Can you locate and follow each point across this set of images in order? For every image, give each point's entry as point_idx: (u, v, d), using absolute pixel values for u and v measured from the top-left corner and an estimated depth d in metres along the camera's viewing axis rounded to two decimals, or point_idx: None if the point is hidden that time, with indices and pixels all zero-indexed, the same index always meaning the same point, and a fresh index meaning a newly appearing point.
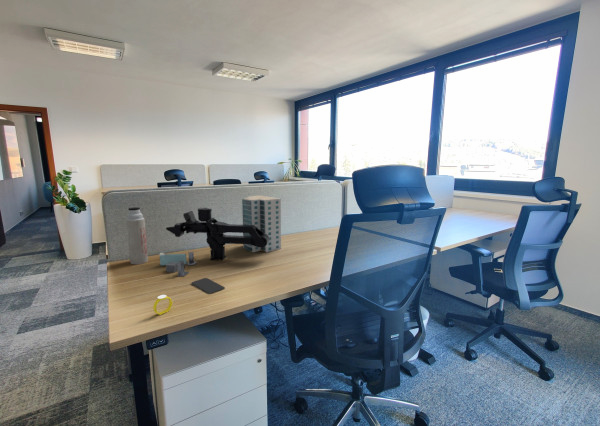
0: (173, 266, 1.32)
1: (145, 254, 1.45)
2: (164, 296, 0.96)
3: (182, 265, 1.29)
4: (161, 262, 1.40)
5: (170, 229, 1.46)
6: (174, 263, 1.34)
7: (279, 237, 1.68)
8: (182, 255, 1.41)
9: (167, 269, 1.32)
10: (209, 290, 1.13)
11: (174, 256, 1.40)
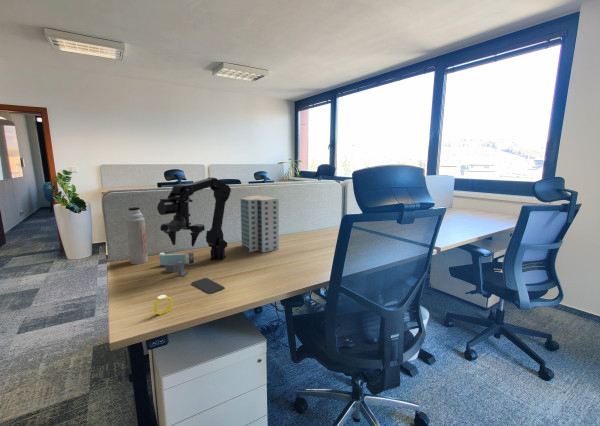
0: (173, 266, 1.32)
1: (145, 254, 1.45)
2: (164, 296, 0.96)
3: (182, 265, 1.29)
4: (161, 262, 1.40)
5: (194, 240, 1.31)
6: (174, 263, 1.34)
7: (277, 237, 1.67)
8: (182, 255, 1.41)
9: (167, 269, 1.32)
10: (209, 290, 1.13)
11: (174, 256, 1.40)
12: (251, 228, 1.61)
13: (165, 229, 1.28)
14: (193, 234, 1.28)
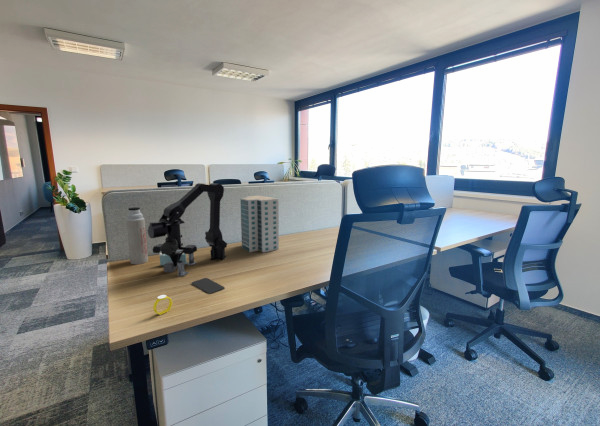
0: (171, 266, 1.32)
1: (145, 254, 1.45)
2: (164, 296, 0.96)
3: (182, 265, 1.29)
4: (161, 262, 1.40)
5: (178, 260, 1.33)
6: (172, 263, 1.34)
7: (277, 237, 1.67)
8: (182, 255, 1.41)
9: (165, 269, 1.32)
10: (209, 290, 1.13)
11: None
12: (251, 228, 1.61)
13: (157, 251, 1.30)
14: (176, 255, 1.30)
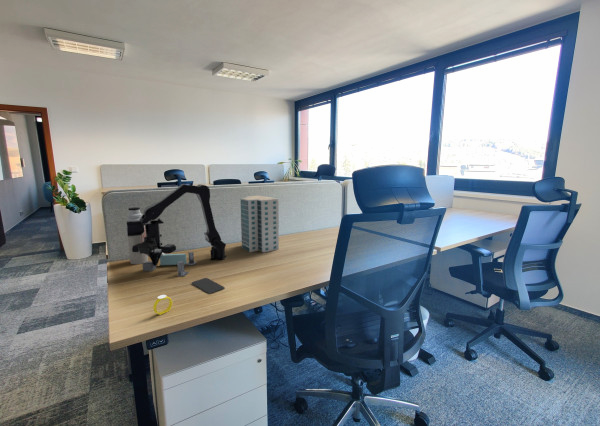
0: (150, 265, 1.33)
1: (145, 254, 1.45)
2: (164, 296, 0.96)
3: (182, 265, 1.29)
4: (161, 262, 1.40)
5: (157, 259, 1.34)
6: (151, 262, 1.35)
7: (277, 237, 1.67)
8: (182, 255, 1.41)
9: (144, 268, 1.33)
10: (209, 290, 1.13)
11: (174, 256, 1.40)
12: (251, 228, 1.61)
13: (136, 250, 1.31)
14: (155, 254, 1.31)
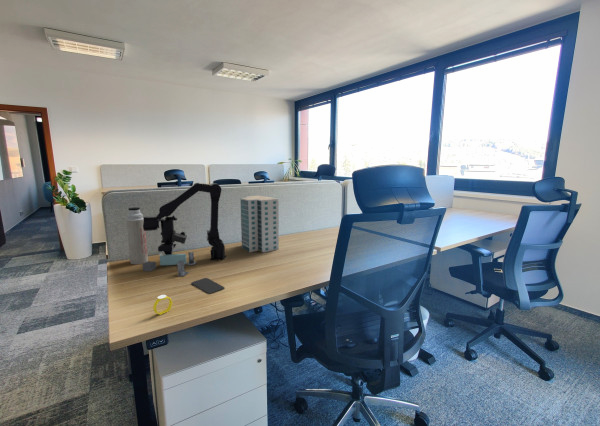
0: (150, 265, 1.33)
1: (145, 254, 1.45)
2: (164, 296, 0.96)
3: (182, 265, 1.29)
4: (161, 262, 1.40)
5: None
6: (151, 262, 1.35)
7: (277, 237, 1.67)
8: (182, 255, 1.41)
9: (144, 268, 1.33)
10: (209, 290, 1.13)
11: (174, 256, 1.40)
12: (251, 228, 1.61)
13: (173, 247, 1.37)
14: (174, 246, 1.45)
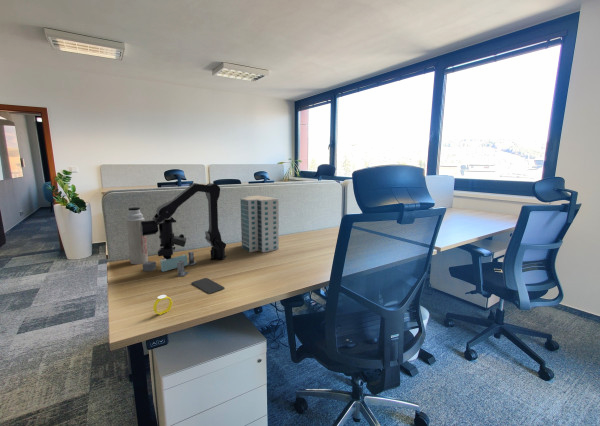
0: (150, 265, 1.33)
1: (145, 254, 1.45)
2: (164, 296, 0.96)
3: (182, 265, 1.29)
4: (163, 268, 1.32)
5: None
6: (151, 262, 1.35)
7: (277, 237, 1.67)
8: (184, 256, 1.39)
9: (144, 268, 1.33)
10: (208, 290, 1.13)
11: (176, 259, 1.36)
12: (251, 228, 1.61)
13: (173, 251, 1.31)
14: (173, 249, 1.39)
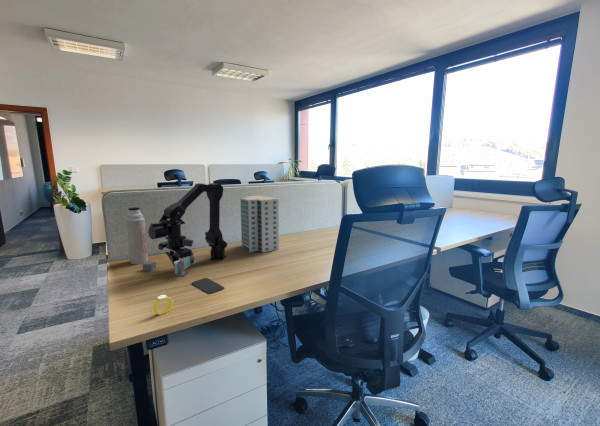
0: (150, 265, 1.33)
1: (145, 254, 1.45)
2: (164, 296, 0.96)
3: (182, 265, 1.29)
4: None
5: None
6: (151, 262, 1.35)
7: (277, 237, 1.67)
8: (188, 257, 1.38)
9: (144, 268, 1.33)
10: (208, 290, 1.13)
11: (185, 260, 1.35)
12: (251, 228, 1.61)
13: None
14: None
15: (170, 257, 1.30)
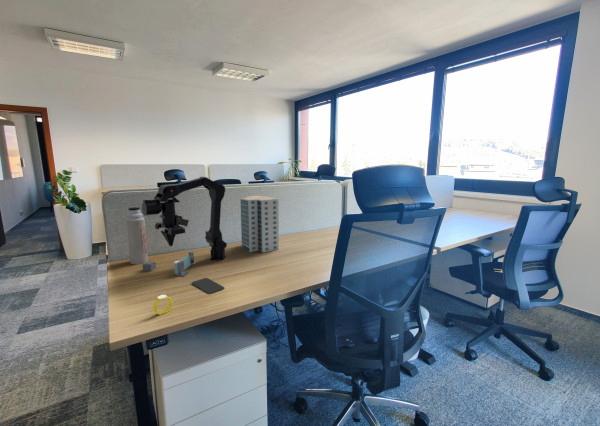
0: (150, 265, 1.33)
1: (145, 254, 1.45)
2: (164, 296, 0.96)
3: (182, 265, 1.29)
4: None
5: None
6: (151, 262, 1.35)
7: (277, 238, 1.67)
8: (188, 257, 1.38)
9: (144, 268, 1.33)
10: (208, 290, 1.13)
11: (185, 260, 1.35)
12: (251, 228, 1.61)
13: None
14: None
15: (165, 236, 1.29)
